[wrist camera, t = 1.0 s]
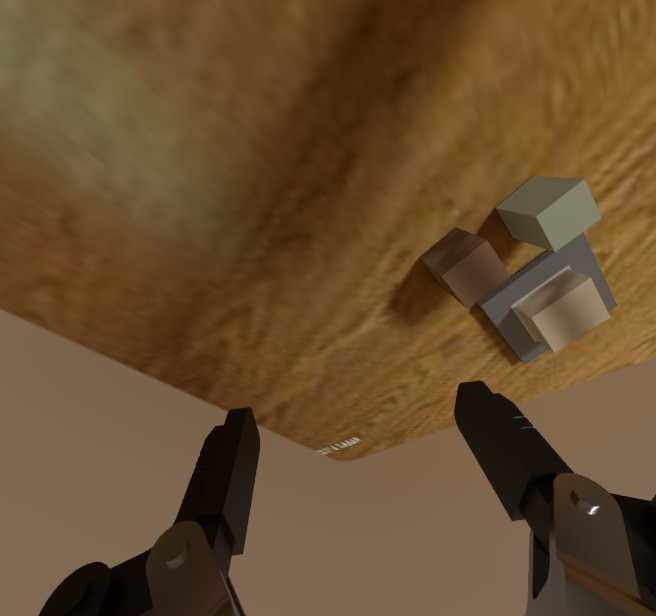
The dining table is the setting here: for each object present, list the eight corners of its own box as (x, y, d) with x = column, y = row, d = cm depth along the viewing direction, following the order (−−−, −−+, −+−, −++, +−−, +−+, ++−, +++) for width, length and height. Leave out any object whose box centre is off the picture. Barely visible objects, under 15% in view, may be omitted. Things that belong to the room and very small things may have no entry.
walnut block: (455, 227, 31) (487, 239, 26) (477, 258, 33) (511, 276, 27) (418, 258, 32) (441, 276, 27) (442, 286, 34) (467, 308, 29)
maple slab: (567, 268, 33) (590, 277, 30) (587, 306, 35) (610, 317, 33) (513, 306, 35) (531, 318, 32) (536, 339, 37) (554, 352, 35)
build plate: (574, 229, 32) (583, 231, 31) (609, 302, 37) (617, 305, 36) (476, 302, 35) (481, 306, 34) (520, 360, 40) (525, 365, 39)
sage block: (533, 176, 29) (584, 178, 24) (549, 209, 31) (601, 218, 25) (495, 207, 30) (536, 216, 25) (513, 237, 32) (555, 252, 27)
